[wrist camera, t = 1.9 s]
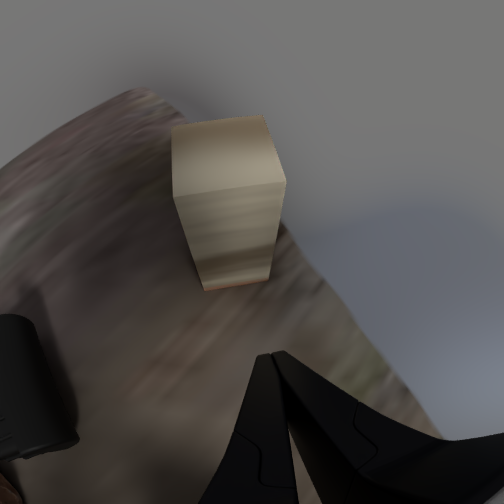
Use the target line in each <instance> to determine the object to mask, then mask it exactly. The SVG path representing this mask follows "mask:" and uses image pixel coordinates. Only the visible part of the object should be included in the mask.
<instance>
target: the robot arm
mask: <svg viewBox="0 0 504 504" xmlns="http://www.w3.org/2000/svg"><path fill="white" fill-rule="evenodd" d="M288 429H289V430H288ZM289 431H290V433H291V436H292V438H293V440H294V443H295V445H296V447H297V449H298V452H299V454H300V456H301V458H302V461H303V463H304V465H305V467H306V470H307V472H308V474H309V476H310V478H311V481H312V483H313V485H314V487H315V489H316V491H317V494H318V496H319V498H320V500H321V502H322V504H504V433H500V434H494V435H489V436H484V437H478V438H471V439H465V440H457V441H449V440H442V439H438V438H435V437H432V436H430V435H427V434H425V433H422V432H420V431H417V430H415V429H413V428H410V427H408V426H406V425H403V424H401V423H399V422H397V421H394V420H392V419H390V418H388V417H386V416H384V415H382V414H380V413H379V412H377V411H375V410H373V409H372V408H370V407H368V406H367V405H365V404H364V403H362V402H359V401H358V400H357V399H356V398H354V397H352V396H351V395H349V394H348V393H346V392H345V391H343V390H342V389H340V388H339V387H337V386H336V385H334V384H332V383H331V382H329V381H328V380H326V379H325V378H323V377H322V376H321V375H319V374H318V373H316V372H315V371H313V370H312V369H310V368H309V367H307V366H306V365H304V364H303V363H301V362H300V361H299V360H297V359H296V358H294V357H293V356H291V355H290V354H289V353H287V352H286V351H277V352H273V353H271V354H269V353H267V354H262V355H258V356H257V357H256V360H255V364H254V367H253V370H252V373H251V377H250V380H249V383H248V386H247V390H246V393H245V396H244V399H243V402H242V405H241V408H240V412H239V415H238V418H237V421H236V424H235V427H234V432H233V433H232V436H231V439H230V442H229V444H228V447H227V449H226V452H225V455H224V457H223V459H222V461H221V463H220V465H219V467H218V469H217V471H216V473H215V474H214V476H213V478H212V480H211V482H210V483H209V485H208V487H207V489H206V490H205V492H204V494H203V495H202V497H201V499H200V501H199V502H198V504H299V500H298V494H297V487H296V479H295V472H294V465H293V458H292V451H291V444H290V437H289Z"/></svg>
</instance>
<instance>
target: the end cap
mask: <svg viewBox="0 0 504 504" xmlns="http://www.w3.org/2000/svg"><path fill="white" fill-rule="evenodd" d="M79 440H80V438H79V436H78V434H77V432H76V430H75V428H74V426H73V424H72V422H71V420H70V418H69V416H68V414H67V411H66V409H65V407H64V405H63V403H62V400H61V398H60V396H59V393H58V391H57V389H56V386H55V384H54V381H53V379H52V376H51V374H50V371H49V368H48V366H47V363H46V360H45V357H44V354H43V351H42V348H41V345H40V342H39V339H38V336H37V332H36V329H35V327H34V324H33V323H32V322H31V321H30V320H29V319H27V318H25V317H23V316H20V315H15V314H2V315H0V460H4V459H5V460H6V461H8V462H9V461H12V460H14V459H17V458H23V459H29V458H31V457H34V456H36V455H39V454H44V453H46V452H53V451H59V450H64V449H68V448H70V447H72V446H74V445H75V444H77V443H78V442H79Z"/></svg>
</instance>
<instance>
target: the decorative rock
mask: <svg viewBox="0 0 504 504" xmlns="http://www.w3.org/2000/svg"><path fill="white" fill-rule="evenodd" d="M0 504H22V499H21V497H20V495H19V493H18V492H17V491H16V489H15V488H14V487H13V486H12V485H11V484H10V483H9V482H8V481H7V480H6V479H5V477H4V476H3V475H2V474H1V473H0Z"/></svg>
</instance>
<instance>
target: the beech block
mask: <svg viewBox="0 0 504 504" xmlns="http://www.w3.org/2000/svg"><path fill="white" fill-rule="evenodd" d="M171 143H172V183H173V199H174V202H175V205H176V208H177V211H178V215H179V218H180V221H181V224H182V227H183V230H184V233H185V236H186V239H187V242H188V245H189V248H190V251H191V254H192V257H193V260H194V263H195V266H196V268H197V271H198V274H199V277H200V280H201V283H202V285H203V288H204V291H208V290H214V289H221V288H227V287H233V286H239V285H245V284H251V283H257V282H262V281H268V279H269V273H270V268H271V263H272V258H273V253H274V248H275V242H276V237H277V232H278V226H279V221H280V216H281V210H282V205H283V199H284V194H285V188H286V182H287V181H286V178H285V175H284V172H283V169H282V166H281V163H280V160H279V158H278V155H277V152H276V149H275V147H274V144H273V141H272V138H271V136H270V133H269V131H268V128H267V125H266V123H265V120H264V117H263V115H256V116H246V117H236V118H227V119H219V120H212V121H204V122H197V123H191V124H185V125H179V126H173V127H171Z"/></svg>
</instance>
